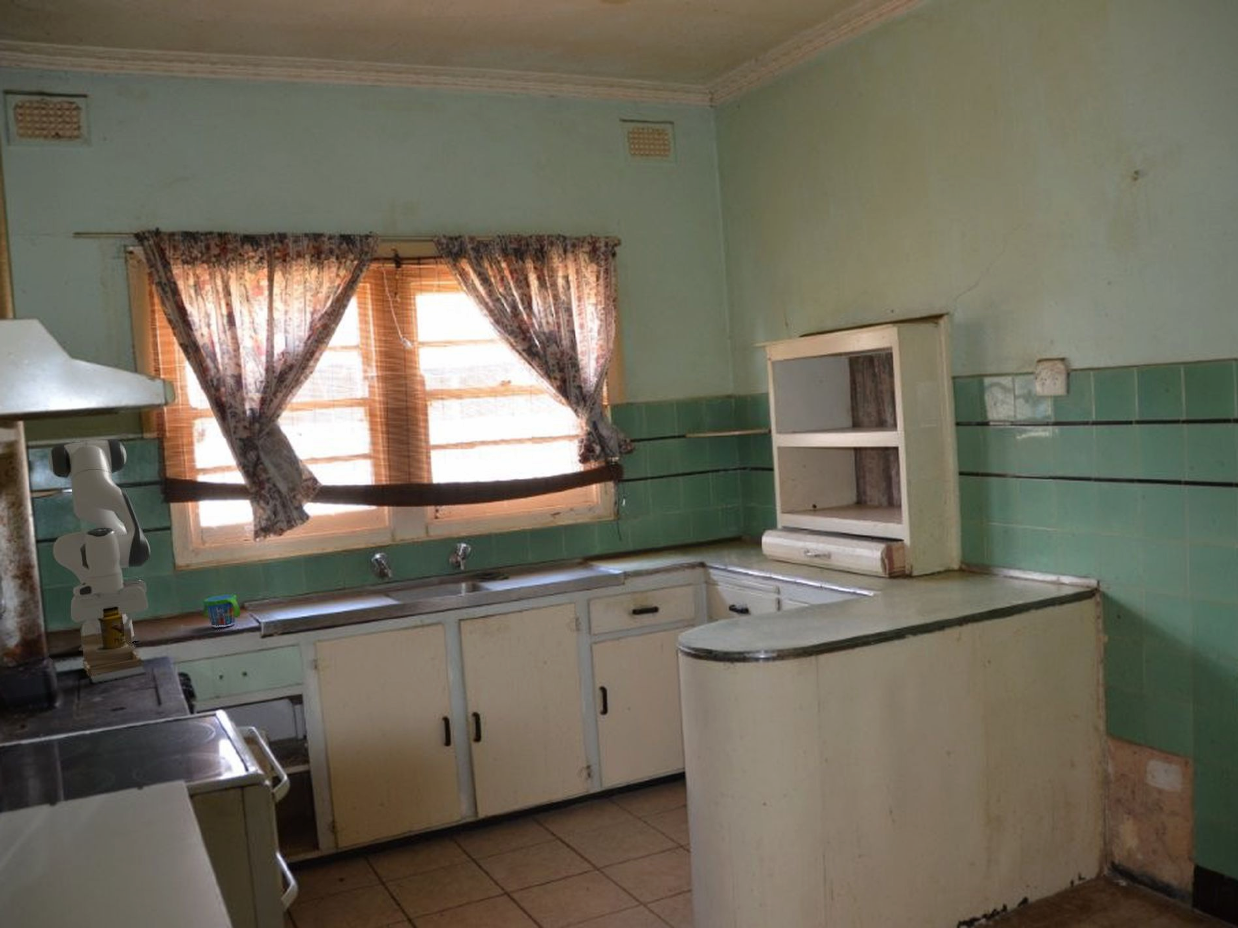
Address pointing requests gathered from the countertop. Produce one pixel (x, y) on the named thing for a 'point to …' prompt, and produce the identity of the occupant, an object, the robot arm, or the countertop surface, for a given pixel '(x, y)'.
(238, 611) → the snack cup
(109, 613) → the condiment
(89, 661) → the carton
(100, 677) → the mat
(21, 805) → the countertop surface
